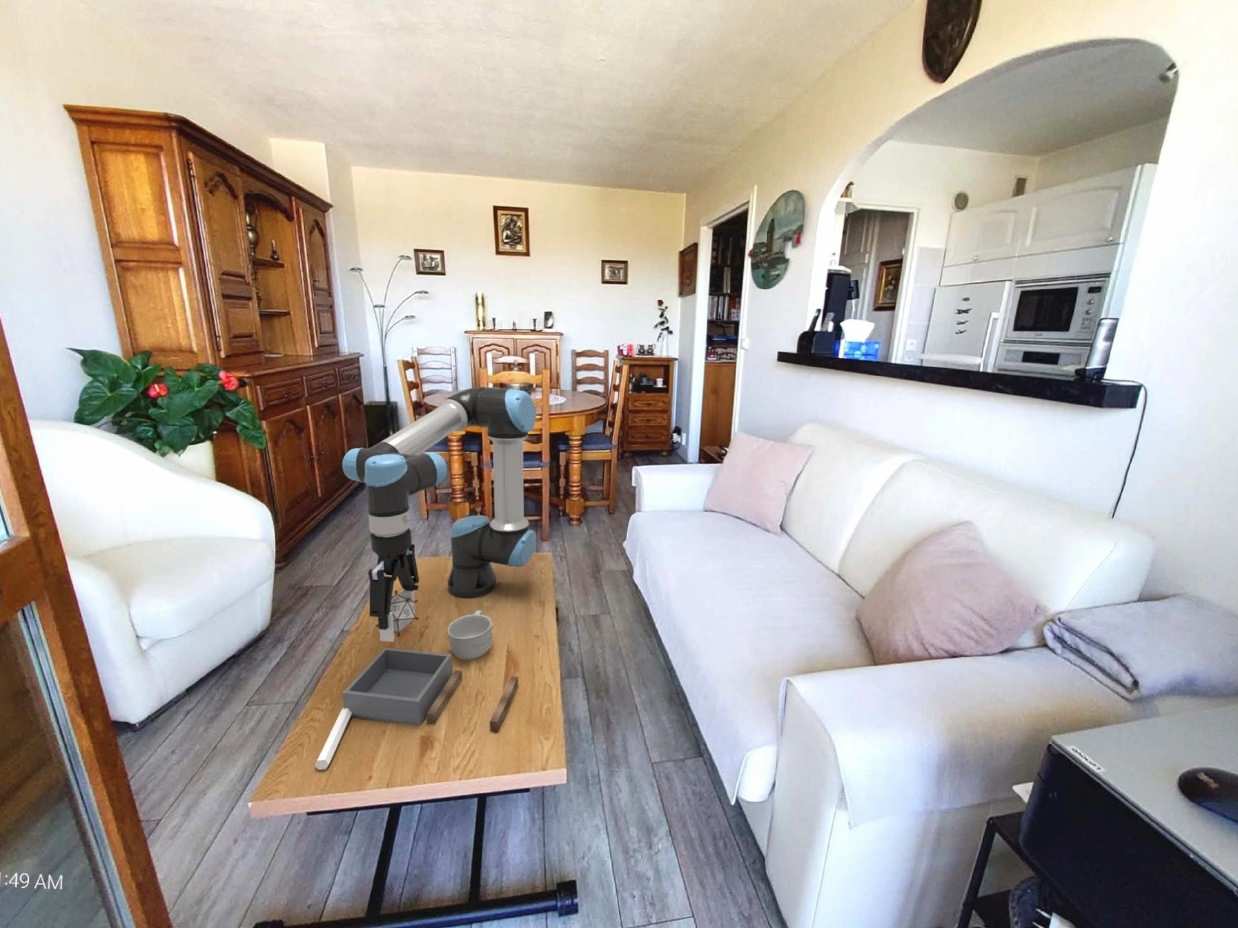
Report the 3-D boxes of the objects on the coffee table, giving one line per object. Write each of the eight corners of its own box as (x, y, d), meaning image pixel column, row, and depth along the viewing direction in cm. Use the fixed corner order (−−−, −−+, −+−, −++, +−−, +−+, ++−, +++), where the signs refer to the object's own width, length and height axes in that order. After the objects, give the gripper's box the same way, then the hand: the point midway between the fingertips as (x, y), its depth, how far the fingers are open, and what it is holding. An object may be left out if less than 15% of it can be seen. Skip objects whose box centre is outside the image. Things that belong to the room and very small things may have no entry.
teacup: (480, 668, 120) (479, 640, 118) (440, 661, 122) (438, 633, 120) (504, 636, 133) (504, 610, 131) (467, 630, 135) (466, 604, 133)
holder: (455, 679, 116) (455, 669, 115) (518, 685, 114) (518, 676, 114) (427, 723, 102) (426, 713, 102) (497, 732, 101) (497, 721, 100)
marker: (352, 709, 106) (324, 771, 90) (342, 706, 105) (313, 768, 90) (358, 700, 105) (331, 760, 90) (348, 696, 105) (319, 756, 90)
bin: (386, 669, 118) (384, 647, 117) (452, 676, 116) (451, 654, 115) (345, 716, 103) (342, 692, 101) (420, 725, 101) (418, 701, 100)
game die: (395, 640, 108) (393, 594, 111) (429, 631, 106) (425, 585, 110) (366, 642, 100) (364, 593, 103) (402, 633, 98) (399, 583, 101)
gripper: (379, 553, 90) (388, 660, 95) (432, 514, 110) (437, 604, 115) (340, 549, 90) (352, 656, 96) (400, 511, 110) (406, 602, 116)
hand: (398, 628), depth 106 cm, fingers closed on game die, 8 cm apart
